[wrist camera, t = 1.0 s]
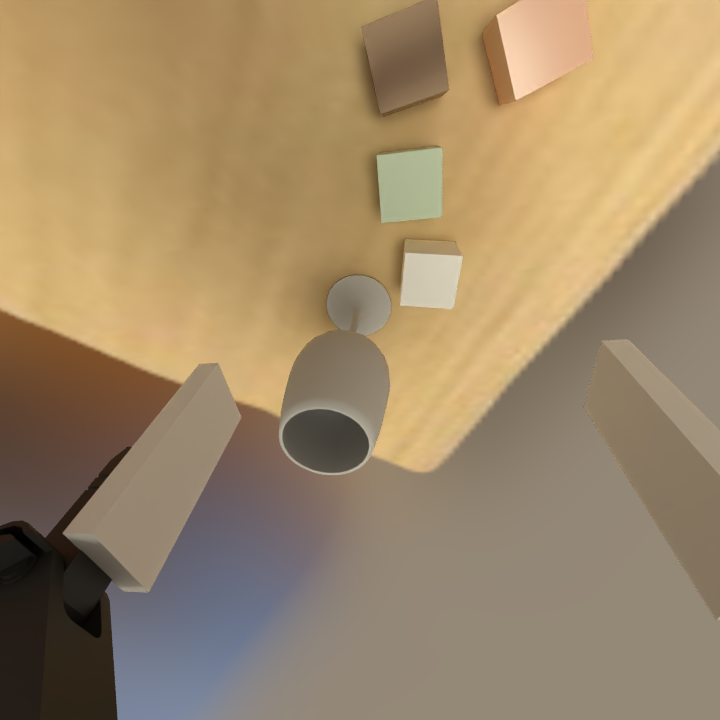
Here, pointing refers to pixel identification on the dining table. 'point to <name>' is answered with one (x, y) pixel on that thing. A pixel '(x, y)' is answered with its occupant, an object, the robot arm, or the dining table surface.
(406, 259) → the white cube
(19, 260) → the dining table surface
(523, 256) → the dining table surface
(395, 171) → the sage cube
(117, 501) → the robot arm
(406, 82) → the walnut cube
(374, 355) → the wineglass
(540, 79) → the terracotta cube
